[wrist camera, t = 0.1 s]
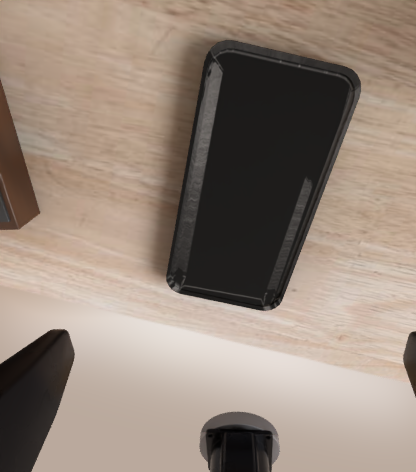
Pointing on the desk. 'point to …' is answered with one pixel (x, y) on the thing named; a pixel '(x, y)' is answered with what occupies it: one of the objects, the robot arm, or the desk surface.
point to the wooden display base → (13, 176)
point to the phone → (256, 171)
